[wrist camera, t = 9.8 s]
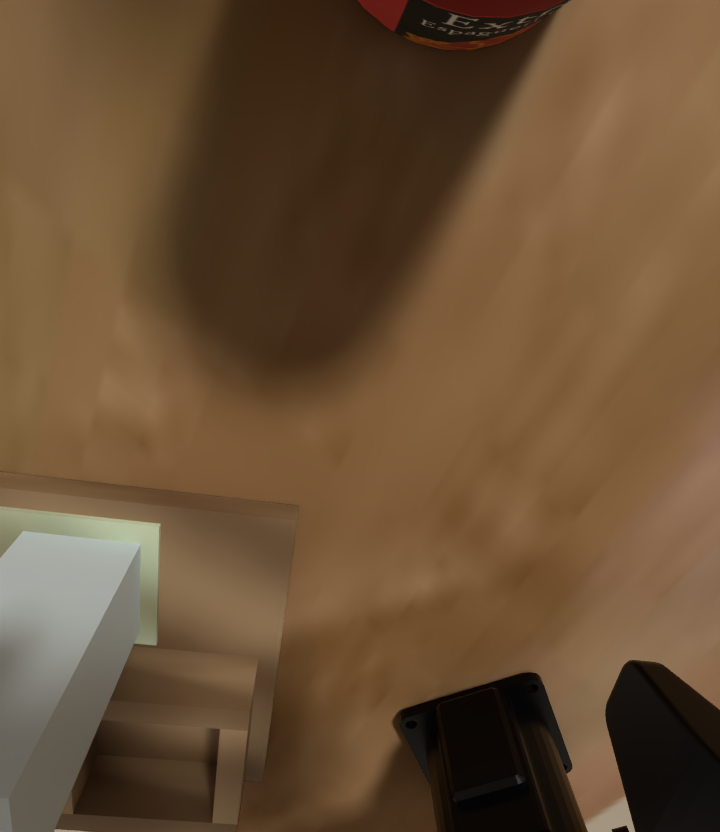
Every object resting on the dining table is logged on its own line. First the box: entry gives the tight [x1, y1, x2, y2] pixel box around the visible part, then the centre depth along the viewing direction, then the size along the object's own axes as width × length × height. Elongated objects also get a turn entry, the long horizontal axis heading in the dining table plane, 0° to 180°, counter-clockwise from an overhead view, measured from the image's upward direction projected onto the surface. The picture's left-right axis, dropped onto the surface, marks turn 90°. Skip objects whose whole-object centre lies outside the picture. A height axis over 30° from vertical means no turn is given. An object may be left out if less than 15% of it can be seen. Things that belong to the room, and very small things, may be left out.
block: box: [0, 531, 141, 832], centre depth 17 cm, size 4×4×9 cm
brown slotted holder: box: [0, 472, 299, 832], centre depth 22 cm, size 14×11×4 cm
